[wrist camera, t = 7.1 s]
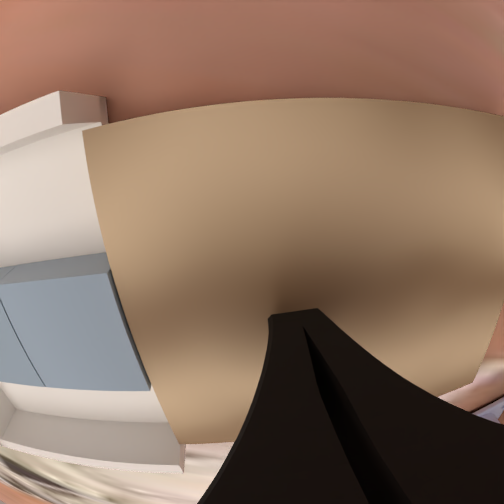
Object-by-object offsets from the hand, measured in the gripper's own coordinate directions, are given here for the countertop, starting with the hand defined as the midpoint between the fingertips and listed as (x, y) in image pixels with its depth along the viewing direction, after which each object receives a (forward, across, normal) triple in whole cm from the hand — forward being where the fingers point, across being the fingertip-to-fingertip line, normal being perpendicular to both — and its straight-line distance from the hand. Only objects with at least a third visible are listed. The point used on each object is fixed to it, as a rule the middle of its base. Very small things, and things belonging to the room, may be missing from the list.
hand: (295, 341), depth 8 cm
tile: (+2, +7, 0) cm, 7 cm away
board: (+3, -2, 0) cm, 4 cm away
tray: (+3, +10, 0) cm, 11 cm away
